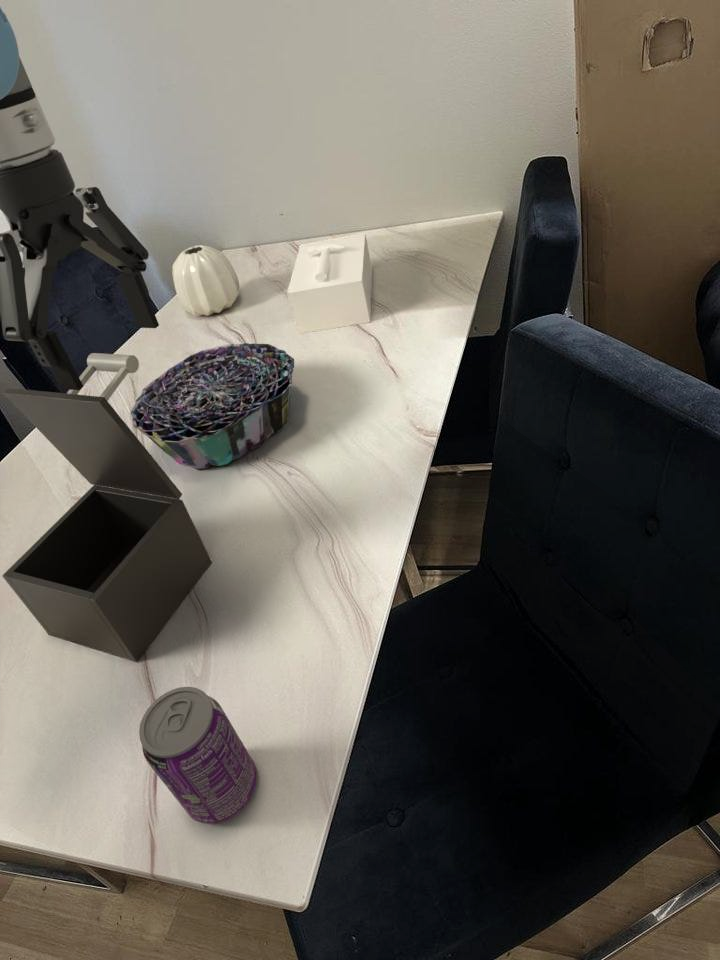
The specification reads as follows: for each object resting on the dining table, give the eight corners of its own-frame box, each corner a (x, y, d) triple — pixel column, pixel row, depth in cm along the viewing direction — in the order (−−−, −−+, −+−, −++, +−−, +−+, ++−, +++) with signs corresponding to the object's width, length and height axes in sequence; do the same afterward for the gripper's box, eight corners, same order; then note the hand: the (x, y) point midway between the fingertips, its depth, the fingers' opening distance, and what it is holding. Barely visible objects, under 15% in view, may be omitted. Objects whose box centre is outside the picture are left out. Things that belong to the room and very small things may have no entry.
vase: (185, 303, 155) (163, 247, 146) (243, 288, 155) (224, 231, 147) (183, 328, 144) (160, 269, 136) (245, 312, 144) (226, 252, 136)
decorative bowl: (338, 406, 111) (328, 352, 106) (227, 501, 94) (207, 442, 88) (229, 383, 125) (214, 334, 119) (114, 462, 108) (90, 409, 102)
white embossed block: (372, 270, 148) (363, 221, 141) (370, 322, 129) (359, 268, 122) (309, 281, 150) (297, 234, 144) (298, 334, 131) (283, 281, 124)
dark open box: (137, 662, 75) (95, 601, 68) (48, 635, 81) (1, 575, 74) (212, 561, 86) (182, 499, 79) (128, 543, 92) (94, 484, 85)
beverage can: (194, 753, 65) (147, 684, 58) (264, 749, 64) (225, 678, 57) (176, 829, 60) (121, 764, 52) (252, 825, 59) (207, 758, 51)
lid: (99, 402, 66) (149, 335, 71) (2, 393, 72) (54, 331, 77) (179, 499, 78) (216, 436, 83) (90, 484, 84) (130, 426, 89)
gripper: (-64, 203, 53) (60, 421, 66) (131, 117, 69) (199, 305, 83) (-120, 207, 56) (9, 414, 69) (79, 124, 73) (153, 304, 86)
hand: (112, 355), depth 76 cm, fingers open, 13 cm apart
